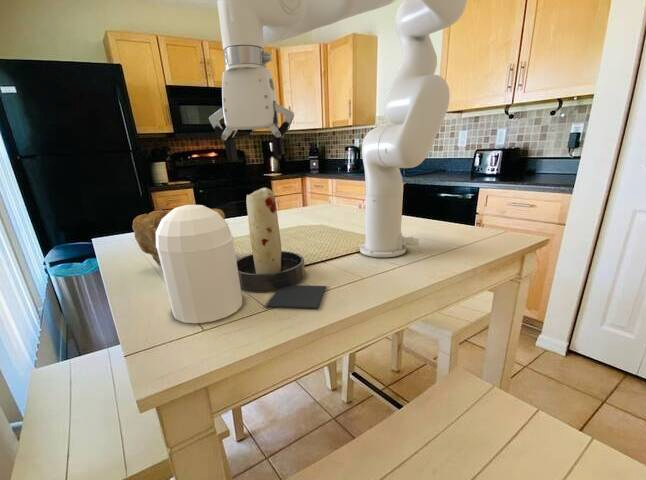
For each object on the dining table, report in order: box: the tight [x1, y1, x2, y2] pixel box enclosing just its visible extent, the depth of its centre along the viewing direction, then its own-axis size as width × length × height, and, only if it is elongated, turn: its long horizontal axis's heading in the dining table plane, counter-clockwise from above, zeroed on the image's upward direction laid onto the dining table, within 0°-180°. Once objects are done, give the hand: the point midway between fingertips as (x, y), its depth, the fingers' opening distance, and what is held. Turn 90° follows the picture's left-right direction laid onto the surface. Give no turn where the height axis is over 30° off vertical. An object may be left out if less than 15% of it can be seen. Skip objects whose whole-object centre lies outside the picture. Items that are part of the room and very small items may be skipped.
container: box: [156, 204, 243, 324], centre depth 63 cm, size 13×13×20 cm
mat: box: [266, 284, 327, 310], centre depth 68 cm, size 10×10×1 cm
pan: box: [236, 250, 306, 293], centre depth 78 cm, size 16×16×4 cm
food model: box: [245, 187, 282, 274], centre depth 75 cm, size 10×7×20 cm
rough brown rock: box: [131, 208, 226, 268], centre depth 85 cm, size 23×17×15 cm
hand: (255, 160), depth 69 cm, fingers open, 9 cm apart
